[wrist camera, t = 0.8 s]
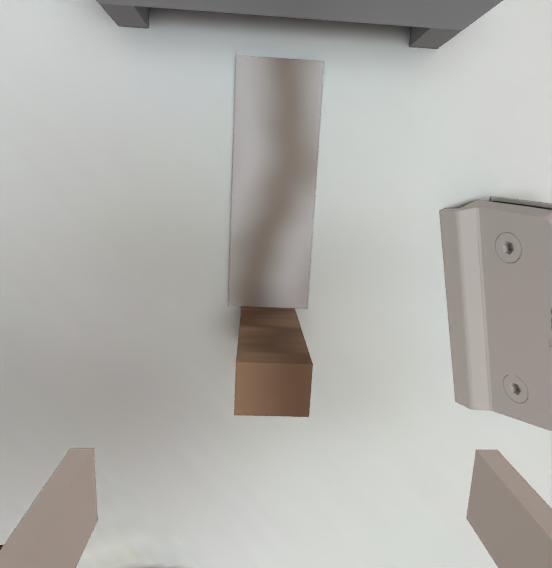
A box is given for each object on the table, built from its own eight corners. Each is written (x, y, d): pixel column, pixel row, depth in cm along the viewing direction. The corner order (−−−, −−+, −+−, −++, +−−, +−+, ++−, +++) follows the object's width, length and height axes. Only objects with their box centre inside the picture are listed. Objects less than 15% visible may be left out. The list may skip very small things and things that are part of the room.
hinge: (438, 205, 35) (565, 202, 26) (486, 195, 36) (621, 189, 27) (455, 406, 38) (571, 466, 29) (498, 388, 40) (620, 441, 31)
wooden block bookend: (227, 340, 36) (215, 414, 24) (236, 58, 32) (226, -16, 20) (303, 342, 36) (327, 417, 25) (322, 64, 32) (361, -5, 20)
